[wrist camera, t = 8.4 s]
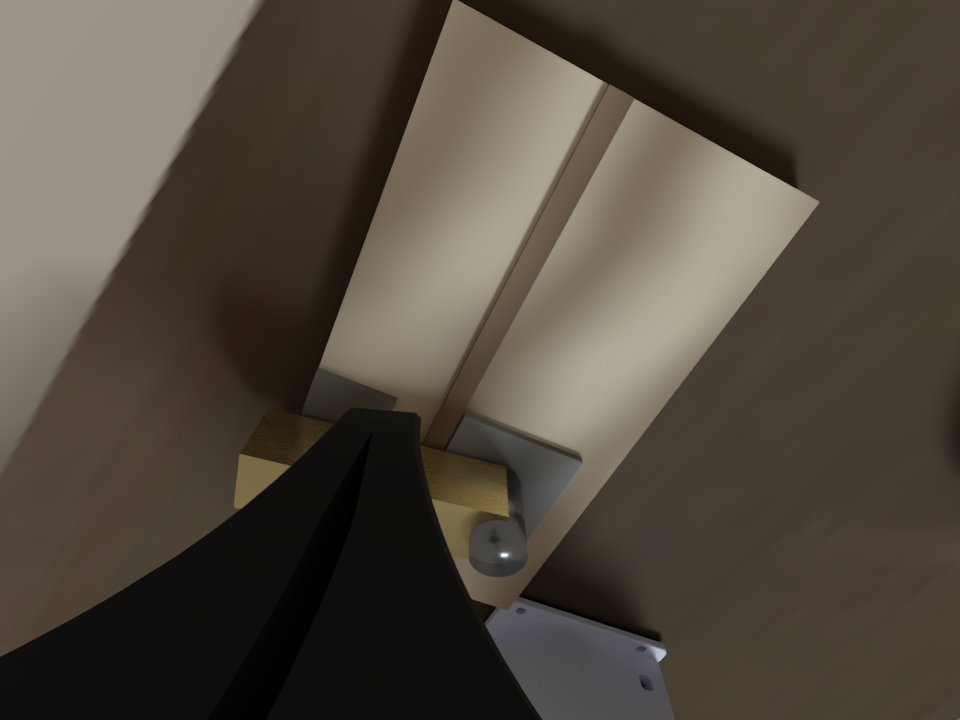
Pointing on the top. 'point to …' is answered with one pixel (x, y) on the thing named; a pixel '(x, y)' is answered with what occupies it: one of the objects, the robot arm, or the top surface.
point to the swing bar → (451, 480)
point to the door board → (543, 273)
